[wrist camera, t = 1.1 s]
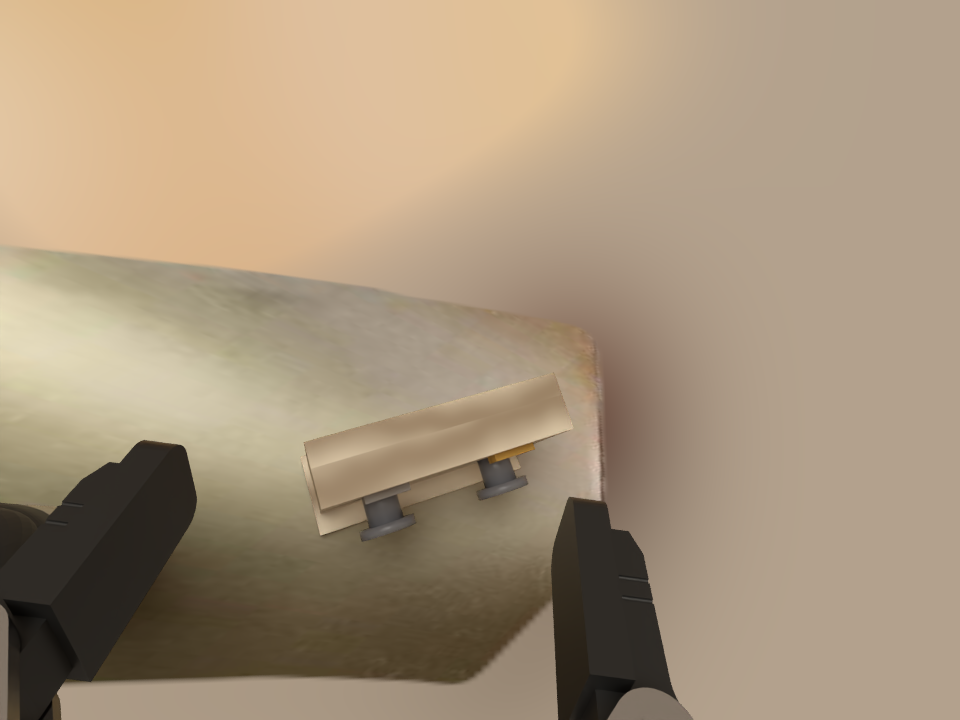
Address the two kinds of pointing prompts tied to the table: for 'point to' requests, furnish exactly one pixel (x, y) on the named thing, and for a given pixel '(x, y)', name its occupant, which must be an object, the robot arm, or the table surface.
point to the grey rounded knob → (498, 478)
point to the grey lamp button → (385, 518)
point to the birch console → (428, 449)
